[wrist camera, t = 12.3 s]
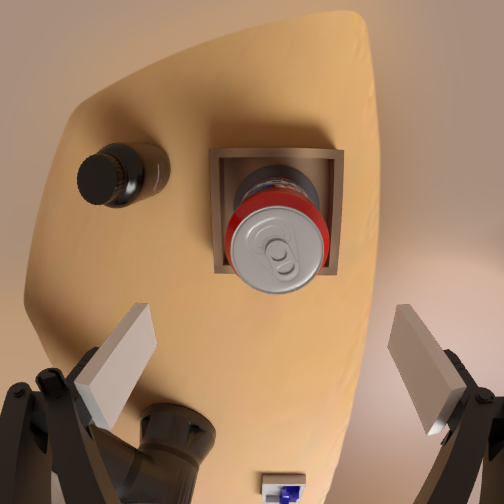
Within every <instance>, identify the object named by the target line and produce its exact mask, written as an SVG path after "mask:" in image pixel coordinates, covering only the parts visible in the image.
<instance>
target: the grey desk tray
mask: <svg viewBox="0 0 504 504" xmlns="http://www.w3.org/2000/svg"><path fill="white" fill-rule="evenodd" d="M305 485H306V475H263V483H262V503H272V504H279V500H280V489H281V488H282V487H283V486H299V499H297V500H291V499H290V501H289V504H296V503H300V500H301V497H302V494H303V491H304V488H305Z"/></svg>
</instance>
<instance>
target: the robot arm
mask: <svg viewBox="0 0 504 504" xmlns="http://www.w3.org/2000/svg"><path fill="white" fill-rule="evenodd" d="M156 346H157V342H156V338H155V333H154V329H153V324H152V319H151V314H150V309H149V304H147V303H135V305H134V306H133V307H132V308H131V309H130V311H129V312H128V313H127V314H126V315H125V317H124V318H123V319H122V320H121V322H120V323H119V324H118V325H117V327H116V328H115V329H114V330H113V332H112V333H111V334H110V335H109V337H108V338H107V339H106V340H105V342H104V343H103V344H102V345H101V347H100V348H98V347H94V348H92V349H91V350H89V351H88V352H86V354H85V355H84V356H83V357H82V359H81V360H80V361H79V362H78V364H77V366H75V367H74V369H73V370H72V371H71V372H70V374H69V375H68V376H67V378H66V379H65V378H64V376H63V374H62V372H61V370H59V369H58V368H47V369H45V370H43V371H41V372H40V373H39V374H38V375H37V376H36V380H35V381H36V384H37V385H38V387H39V389H40V391H41V392H39V391H32V390H31V388H30V386H29V385H28V384H27V383H25V382H20V383H16V384H14V385H12V386H11V387H10V388H9V390H8V392H7V395H6V398H5V401H4V405H3V408H2V412H1V415H0V504H191V500H192V496H193V492H194V487H195V483H196V479H197V474H198V470H199V466H200V464H201V463H202V462H203V460H204V459H205V458H206V456H207V455H208V453H209V452H210V451H211V449H212V448H213V446H214V442H215V438H216V431H215V429H214V427H213V425H212V424H211V423H210V422H209V421H208V420H207V419H206V418H204V417H203V416H201V415H200V414H198V413H196V412H194V411H192V410H190V409H188V408H185V407H182V406H178V405H173V404H155V405H152V406H149V407H148V408H147V409H146V410H145V411H144V413H143V416H142V418H141V421H140V445H139V448H138V449H136V448H135V447H133V446H131V445H130V444H128V443H126V442H125V441H123V440H122V439H120V438H118V437H117V436H115V435H114V434H112V433H111V432H109V431H108V430H112V428H113V426H114V424H115V423H116V421H117V419H118V417H119V415H120V413H121V411H122V409H123V407H124V405H125V403H126V402H127V400H128V398H129V396H130V394H131V392H132V390H133V388H134V387H135V385H136V383H137V381H138V379H139V377H140V376H141V374H142V372H143V370H144V368H145V366H146V365H147V363H148V361H149V359H150V357H151V355H152V354H153V352H154V350H155V348H156ZM388 349H389V351H390V353H391V355H392V358H393V360H394V362H395V364H396V366H397V368H398V370H399V372H400V375H401V377H402V379H403V381H404V383H405V386H406V388H407V390H408V392H409V394H410V397H411V399H412V401H413V404H414V406H415V408H416V411H417V413H418V415H419V417H420V420H421V422H422V425H423V427H424V430H425V432H426V435H431V434H435V433H439V432H442V430H443V429H444V427H445V425H446V424H448V426H449V428H450V430H449V432H448V433H447V435H446V436H445V438H444V439H443V441H442V442H441V445H442V447H441V449H440V452H439V454H438V456H437V458H436V460H435V463H434V465H433V467H432V469H431V471H430V473H429V475H428V477H427V479H426V481H425V483H424V485H423V487H422V488H421V490H420V492H419V494H418V496H417V497H416V499H415V501H414V503H413V504H467V502H468V499H469V497H470V494H471V492H472V489H473V486H474V483H475V481H476V478H477V475H478V472H479V469H480V465H481V462H482V459H483V472H482V484H481V494H480V502H479V504H504V397H495V395H494V394H493V393H492V392H491V391H490V390H488V389H486V388H483V387H478V386H477V384H476V383H475V381H474V380H473V378H472V377H471V375H470V374H469V372H468V371H467V369H465V366H464V365H463V364H462V363H461V361H460V359H459V358H458V356H457V355H456V354H455V353H453V352H452V351H450V350H449V349H447V350H442V348H441V347H440V345H439V344H438V343H437V341H436V340H435V338H434V337H433V335H432V334H431V333H430V331H429V330H428V329H427V327H426V326H425V324H424V323H423V321H422V320H421V319H420V317H419V316H418V315H417V313H416V312H415V311H414V309H413V308H412V307H411V305H410V304H402V305H397V308H396V312H395V317H394V321H393V326H392V330H391V334H390V339H389V343H388ZM92 419H93V420H92ZM106 429H107V430H106Z"/></svg>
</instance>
